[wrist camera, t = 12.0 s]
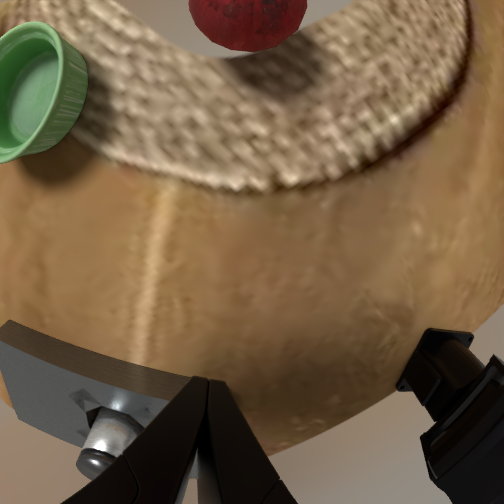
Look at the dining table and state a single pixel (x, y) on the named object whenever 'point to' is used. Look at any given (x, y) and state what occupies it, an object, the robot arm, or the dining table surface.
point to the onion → (248, 21)
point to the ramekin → (38, 89)
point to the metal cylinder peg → (107, 441)
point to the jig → (77, 385)
